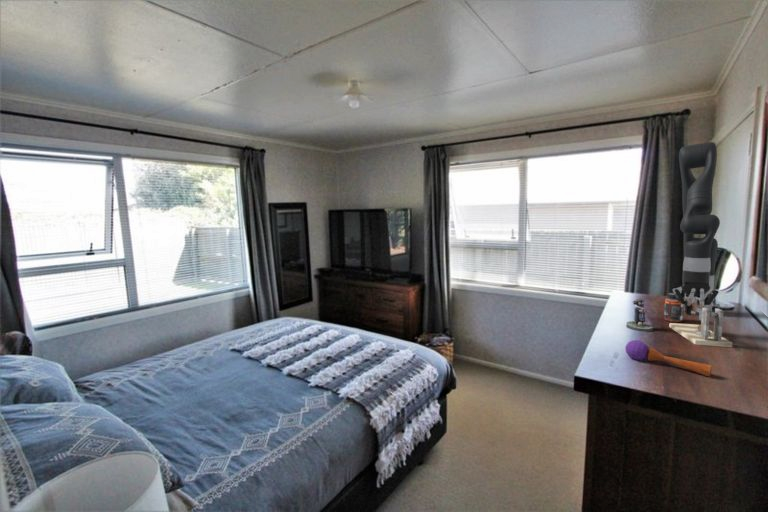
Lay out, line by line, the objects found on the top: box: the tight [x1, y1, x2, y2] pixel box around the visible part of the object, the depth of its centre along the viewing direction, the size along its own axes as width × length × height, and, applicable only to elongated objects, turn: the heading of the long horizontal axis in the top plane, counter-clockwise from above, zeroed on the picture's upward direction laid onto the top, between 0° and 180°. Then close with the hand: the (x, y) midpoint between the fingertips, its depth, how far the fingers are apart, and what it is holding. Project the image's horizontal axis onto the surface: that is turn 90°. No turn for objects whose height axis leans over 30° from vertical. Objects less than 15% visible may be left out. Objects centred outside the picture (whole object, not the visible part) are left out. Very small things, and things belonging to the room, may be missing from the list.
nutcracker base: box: [668, 308, 733, 348], centre depth 128 cm, size 20×10×12 cm, turn 161°
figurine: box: [625, 297, 654, 333], centre depth 138 cm, size 8×8×12 cm
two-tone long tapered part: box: [625, 339, 713, 378], centre depth 105 cm, size 6×6×20 cm
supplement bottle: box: [663, 292, 684, 323], centre depth 146 cm, size 6×6×11 cm
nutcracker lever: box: [690, 302, 718, 321], centre depth 127 cm, size 17×3×4 cm, turn 161°
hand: (693, 315), depth 132 cm, fingers closed on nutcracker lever, 2 cm apart
